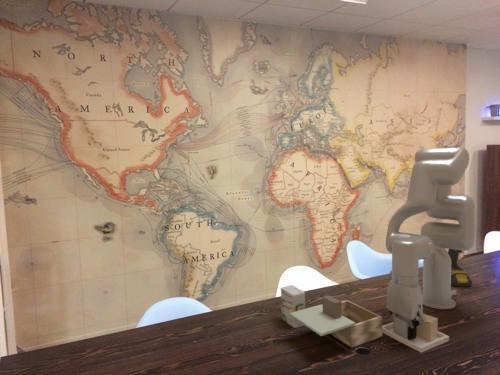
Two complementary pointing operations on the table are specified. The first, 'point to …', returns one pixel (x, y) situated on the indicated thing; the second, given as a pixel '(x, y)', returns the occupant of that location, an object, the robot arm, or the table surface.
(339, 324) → the sage lid
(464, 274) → the power drill
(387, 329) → the white tray
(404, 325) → the granite block
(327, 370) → the table surface
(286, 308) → the ink box
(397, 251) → the robot arm
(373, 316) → the birch box
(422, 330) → the sandstone block
